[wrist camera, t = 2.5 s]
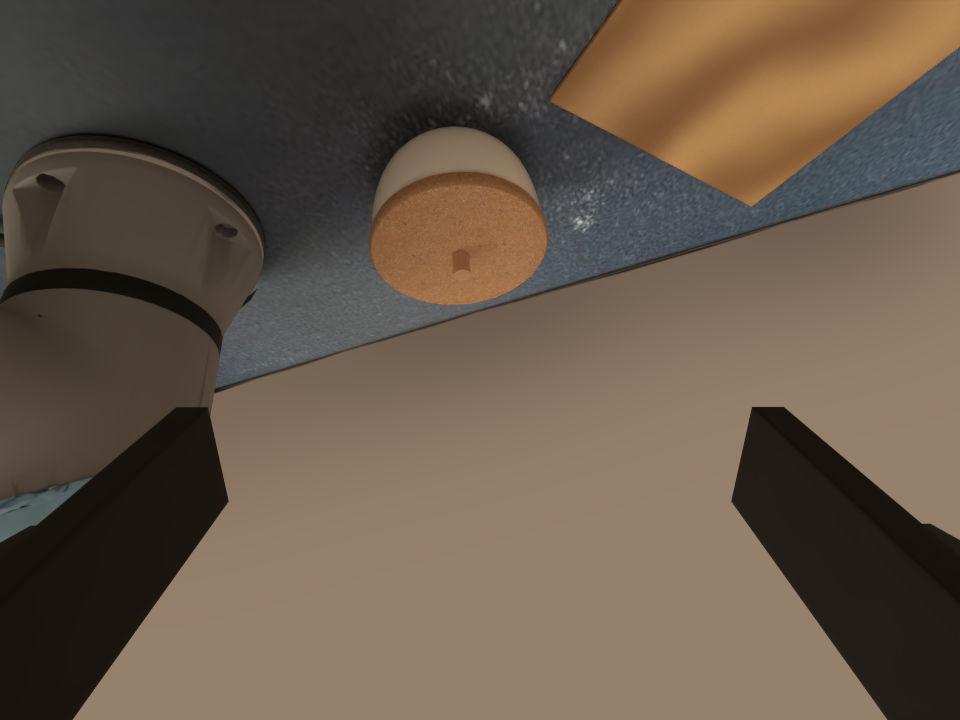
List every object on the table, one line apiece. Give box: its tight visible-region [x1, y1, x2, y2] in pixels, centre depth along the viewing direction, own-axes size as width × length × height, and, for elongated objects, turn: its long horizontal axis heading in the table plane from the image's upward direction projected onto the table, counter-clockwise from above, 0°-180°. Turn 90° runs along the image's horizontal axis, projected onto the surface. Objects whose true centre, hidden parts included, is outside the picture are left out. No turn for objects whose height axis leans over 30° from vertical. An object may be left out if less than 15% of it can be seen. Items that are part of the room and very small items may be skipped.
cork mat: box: [549, 0, 960, 207], centre depth 29 cm, size 20×20×1 cm
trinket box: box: [370, 126, 548, 305], centre depth 33 cm, size 11×11×9 cm
